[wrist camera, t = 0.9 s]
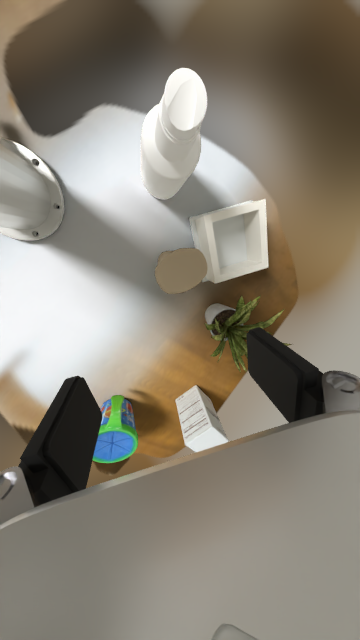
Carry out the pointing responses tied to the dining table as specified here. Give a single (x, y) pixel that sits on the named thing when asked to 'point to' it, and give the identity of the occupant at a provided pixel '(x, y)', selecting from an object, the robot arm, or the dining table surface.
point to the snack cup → (116, 431)
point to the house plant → (233, 327)
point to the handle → (180, 270)
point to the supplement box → (199, 421)
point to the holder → (232, 240)
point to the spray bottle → (173, 135)
